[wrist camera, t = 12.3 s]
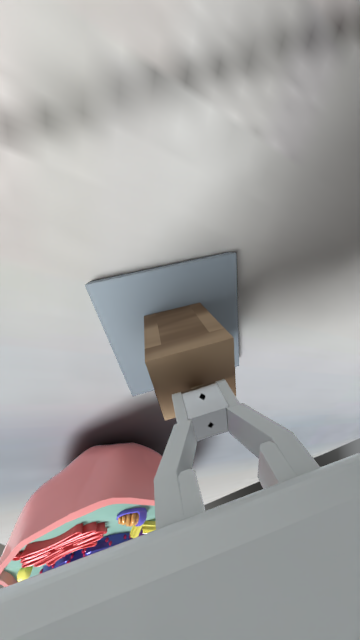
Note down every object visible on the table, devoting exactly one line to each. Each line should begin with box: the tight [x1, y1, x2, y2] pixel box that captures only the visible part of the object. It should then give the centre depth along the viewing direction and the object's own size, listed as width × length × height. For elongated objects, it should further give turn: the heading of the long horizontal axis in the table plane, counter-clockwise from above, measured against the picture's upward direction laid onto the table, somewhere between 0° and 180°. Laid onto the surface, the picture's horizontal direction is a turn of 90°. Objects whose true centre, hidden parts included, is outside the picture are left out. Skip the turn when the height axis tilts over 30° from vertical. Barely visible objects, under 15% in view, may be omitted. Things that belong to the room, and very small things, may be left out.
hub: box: [85, 252, 239, 396], centre depth 14 cm, size 12×12×6 cm
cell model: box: [0, 443, 162, 587], centre depth 19 cm, size 17×20×11 cm
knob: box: [144, 303, 236, 421], centre depth 13 cm, size 5×5×7 cm
